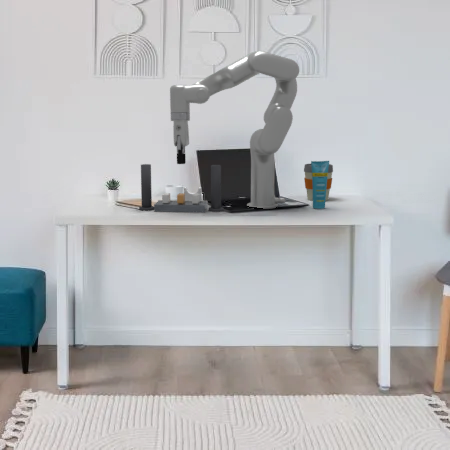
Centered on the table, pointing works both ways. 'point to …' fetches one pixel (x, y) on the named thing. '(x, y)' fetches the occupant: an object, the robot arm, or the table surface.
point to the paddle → (196, 198)
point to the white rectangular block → (166, 198)
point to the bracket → (189, 195)
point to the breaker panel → (180, 206)
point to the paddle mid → (181, 198)
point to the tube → (319, 183)
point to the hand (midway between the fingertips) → (181, 163)
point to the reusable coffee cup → (309, 181)
